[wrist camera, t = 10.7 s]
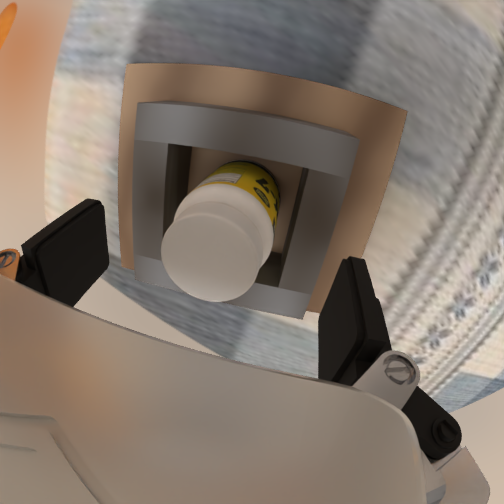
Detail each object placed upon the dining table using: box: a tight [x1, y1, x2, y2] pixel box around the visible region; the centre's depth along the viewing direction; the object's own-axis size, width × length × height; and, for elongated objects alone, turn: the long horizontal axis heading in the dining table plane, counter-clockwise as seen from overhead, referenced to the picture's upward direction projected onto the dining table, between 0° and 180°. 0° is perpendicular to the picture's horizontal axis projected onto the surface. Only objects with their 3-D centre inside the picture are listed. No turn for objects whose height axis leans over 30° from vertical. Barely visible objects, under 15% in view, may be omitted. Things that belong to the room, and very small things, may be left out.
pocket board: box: [118, 63, 407, 319], centre depth 17 cm, size 18×16×5 cm
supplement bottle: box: [161, 160, 280, 302], centre depth 15 cm, size 5×5×8 cm
